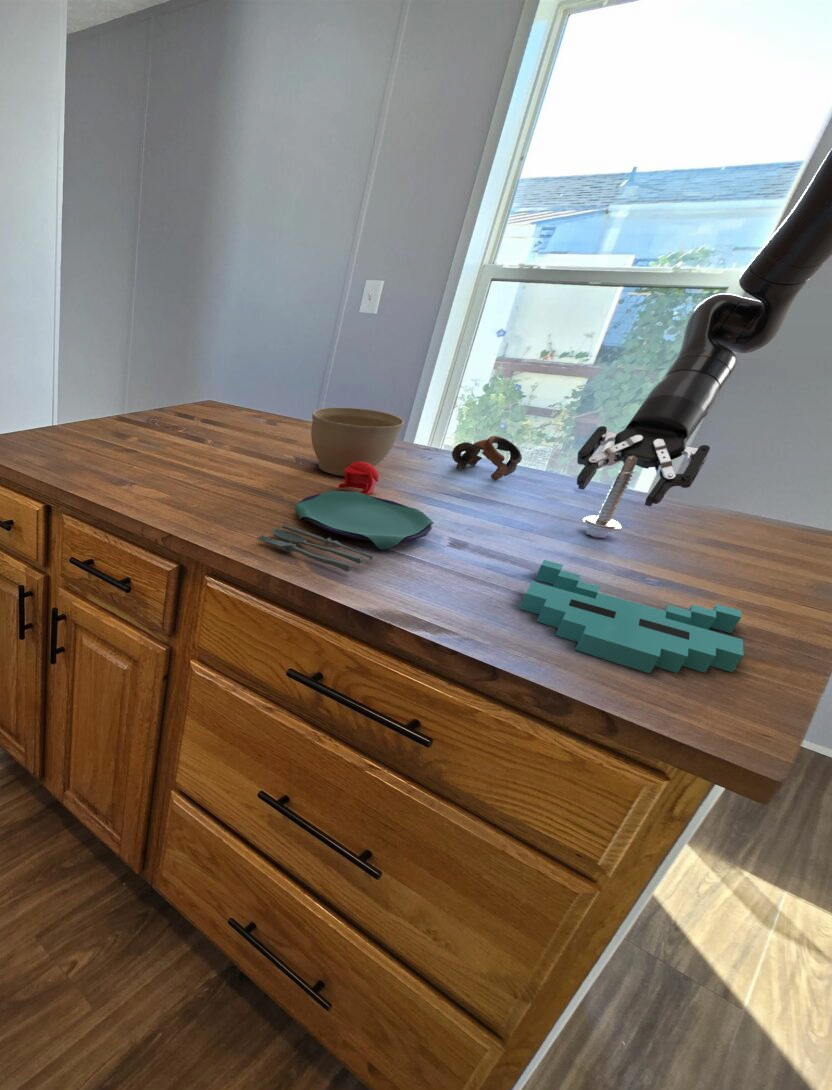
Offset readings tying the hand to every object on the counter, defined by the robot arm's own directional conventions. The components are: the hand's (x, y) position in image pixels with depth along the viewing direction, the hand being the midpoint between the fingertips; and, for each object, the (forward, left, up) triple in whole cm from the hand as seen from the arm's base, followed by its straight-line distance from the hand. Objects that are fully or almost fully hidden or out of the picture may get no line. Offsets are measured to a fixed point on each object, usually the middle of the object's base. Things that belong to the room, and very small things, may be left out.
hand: (613, 494), depth 100 cm
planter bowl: (+41, +5, -7) cm, 42 cm away
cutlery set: (+22, +33, -7) cm, 40 cm away
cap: (+32, +15, -7) cm, 36 cm away
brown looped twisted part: (+26, -17, -7) cm, 32 cm away
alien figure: (-13, +30, -7) cm, 34 cm away
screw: (0, -1, -7) cm, 7 cm away
